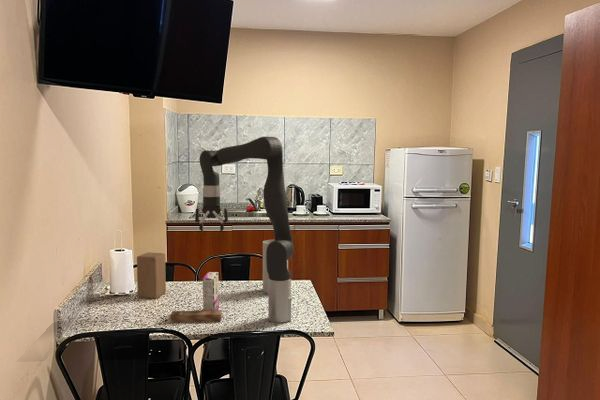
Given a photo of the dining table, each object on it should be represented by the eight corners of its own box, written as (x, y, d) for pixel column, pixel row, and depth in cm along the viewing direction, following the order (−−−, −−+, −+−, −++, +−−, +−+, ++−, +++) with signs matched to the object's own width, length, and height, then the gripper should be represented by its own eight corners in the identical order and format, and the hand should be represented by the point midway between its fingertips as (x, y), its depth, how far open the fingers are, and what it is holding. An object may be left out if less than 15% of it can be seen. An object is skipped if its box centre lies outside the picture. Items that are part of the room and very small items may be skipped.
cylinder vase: (257, 291, 232) (257, 241, 230) (274, 286, 241) (275, 238, 239) (275, 296, 224) (276, 245, 221) (292, 291, 233) (293, 241, 231)
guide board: (221, 317, 194) (221, 310, 194) (220, 321, 189) (220, 314, 189) (172, 318, 193) (172, 310, 192) (170, 322, 188) (170, 314, 187)
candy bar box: (207, 308, 206) (207, 271, 204) (219, 308, 206) (219, 271, 204) (202, 317, 195) (202, 278, 193) (214, 317, 195) (214, 278, 193)
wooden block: (156, 299, 217) (155, 257, 216) (136, 297, 219) (135, 256, 218) (166, 293, 227) (166, 252, 225) (147, 292, 229) (147, 251, 227)
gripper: (194, 196, 204) (194, 232, 205) (226, 196, 205) (227, 232, 206) (196, 194, 211) (196, 230, 213) (228, 194, 212) (228, 230, 214)
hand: (211, 231), depth 209 cm, fingers open, 8 cm apart
